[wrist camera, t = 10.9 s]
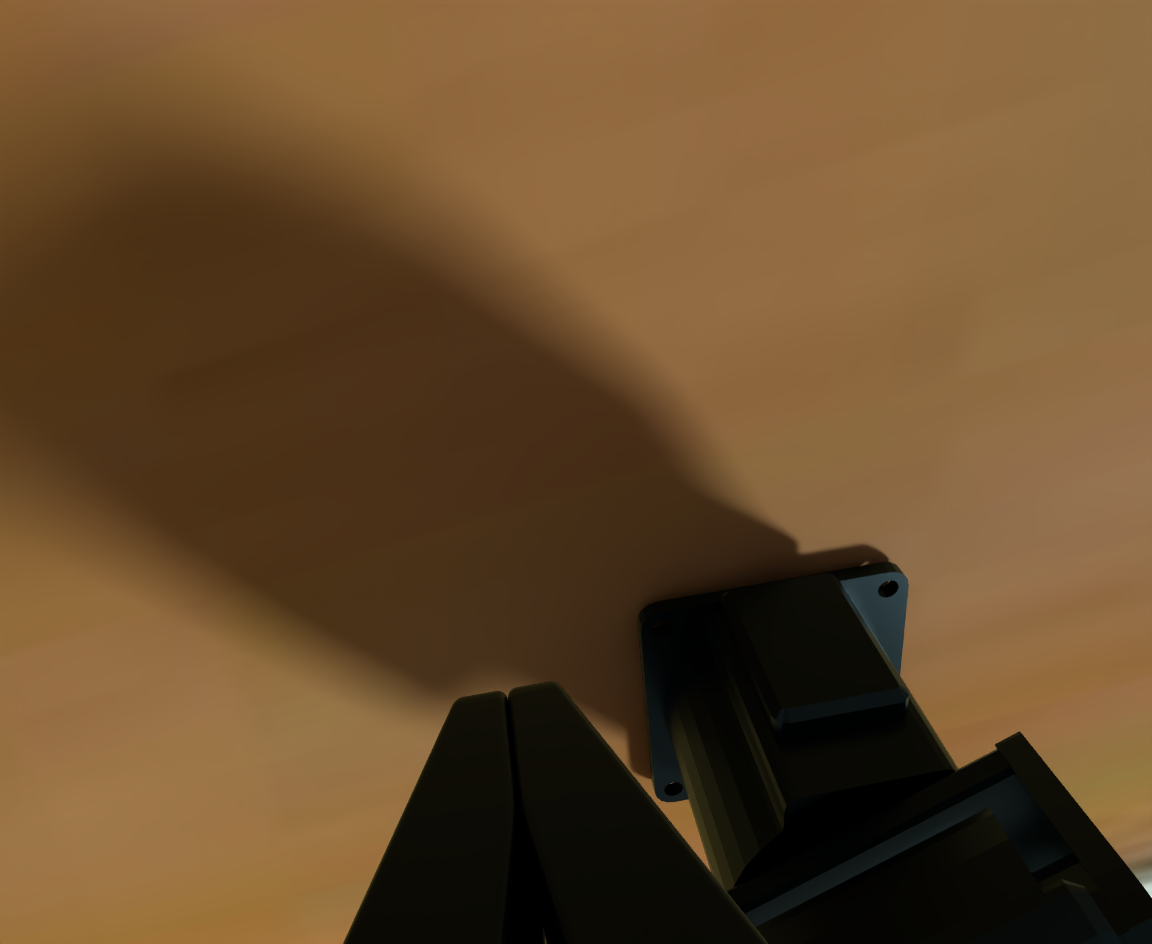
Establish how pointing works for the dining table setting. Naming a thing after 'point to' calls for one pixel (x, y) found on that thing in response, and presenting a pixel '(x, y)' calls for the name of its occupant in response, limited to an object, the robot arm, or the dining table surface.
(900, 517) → the dining table surface
